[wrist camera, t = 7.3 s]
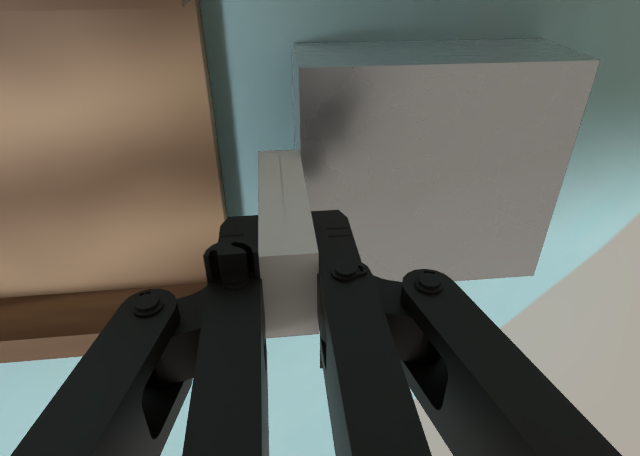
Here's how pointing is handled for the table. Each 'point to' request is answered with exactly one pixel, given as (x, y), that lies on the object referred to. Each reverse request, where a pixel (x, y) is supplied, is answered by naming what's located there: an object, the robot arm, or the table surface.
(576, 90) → the gray rectangular block
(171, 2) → the walnut box
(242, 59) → the table surface
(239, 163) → the table surface
